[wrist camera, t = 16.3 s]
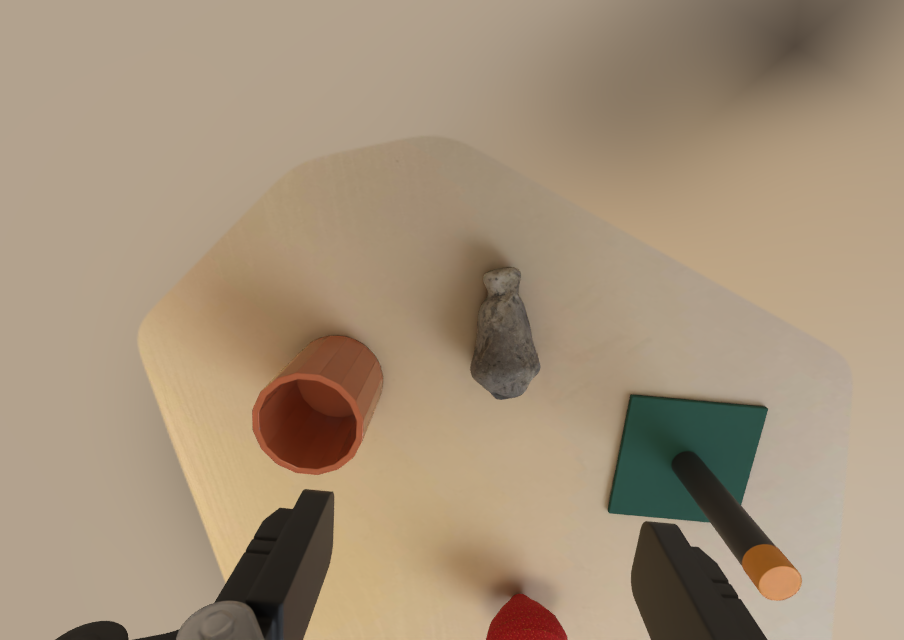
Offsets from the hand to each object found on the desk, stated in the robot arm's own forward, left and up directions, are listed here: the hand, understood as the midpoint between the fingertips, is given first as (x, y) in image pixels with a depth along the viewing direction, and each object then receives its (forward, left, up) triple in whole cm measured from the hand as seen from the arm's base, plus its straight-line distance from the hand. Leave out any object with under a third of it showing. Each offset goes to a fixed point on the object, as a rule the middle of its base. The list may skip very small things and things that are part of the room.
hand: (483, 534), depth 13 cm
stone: (+3, +3, -30) cm, 31 cm away
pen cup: (+9, -11, -30) cm, 33 cm away
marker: (+14, +21, -30) cm, 39 cm away
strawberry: (+31, +8, -30) cm, 44 cm away
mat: (+14, +21, -30) cm, 39 cm away
